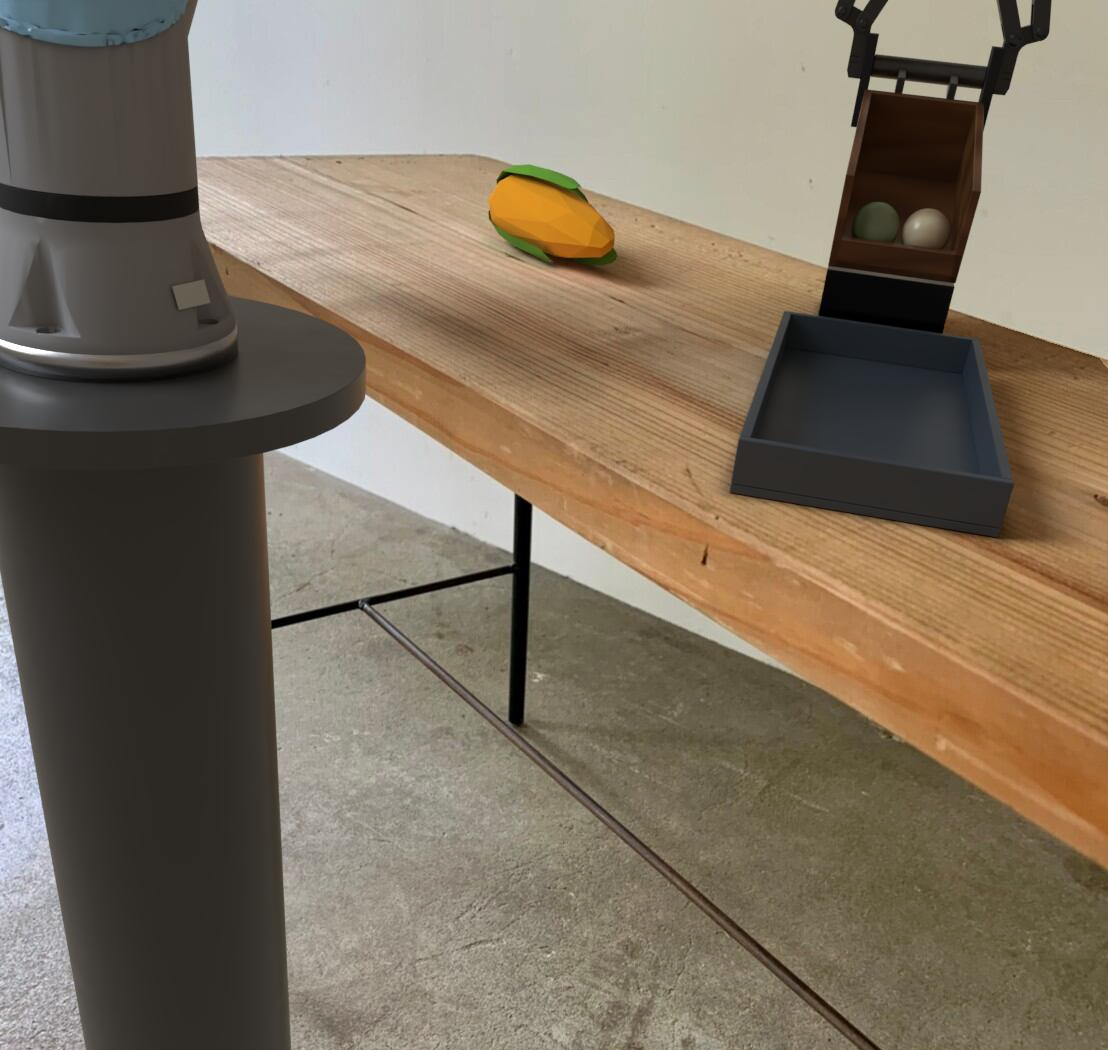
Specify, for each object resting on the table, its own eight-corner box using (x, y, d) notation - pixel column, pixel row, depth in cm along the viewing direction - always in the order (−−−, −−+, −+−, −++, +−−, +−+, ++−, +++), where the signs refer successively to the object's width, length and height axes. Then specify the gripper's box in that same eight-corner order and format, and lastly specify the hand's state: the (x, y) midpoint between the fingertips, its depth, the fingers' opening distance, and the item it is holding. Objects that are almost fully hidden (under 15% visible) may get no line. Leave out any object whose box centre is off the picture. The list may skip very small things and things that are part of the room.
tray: (997, 537, 63) (1014, 483, 61) (729, 492, 65) (738, 438, 64) (968, 380, 89) (979, 338, 87) (776, 351, 91) (784, 310, 89)
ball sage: (841, 226, 90) (843, 218, 87) (881, 196, 89) (884, 187, 86) (867, 265, 90) (869, 258, 87) (907, 235, 89) (910, 227, 86)
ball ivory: (895, 210, 88) (888, 248, 87) (936, 190, 85) (929, 229, 85) (922, 238, 90) (915, 275, 89) (962, 219, 87) (956, 257, 86)
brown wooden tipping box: (955, 283, 87) (988, 167, 81) (827, 266, 88) (850, 150, 82) (962, 170, 101) (990, 63, 95) (852, 157, 102) (873, 50, 96)
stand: (933, 369, 90) (954, 286, 87) (810, 351, 92) (827, 269, 89) (928, 318, 105) (946, 245, 101) (822, 303, 106) (836, 231, 103)
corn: (538, 150, 116) (654, 188, 102) (537, 233, 121) (648, 281, 107) (469, 155, 113) (580, 195, 99) (470, 240, 118) (576, 290, 104)
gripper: (1144, -202, 87) (1047, 143, 99) (843, -225, 90) (785, 112, 102) (1163, -215, 81) (1057, 155, 93) (839, -240, 84) (778, 121, 96)
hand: (915, 132), depth 98 cm, fingers closed on brown wooden tipping box, 9 cm apart
